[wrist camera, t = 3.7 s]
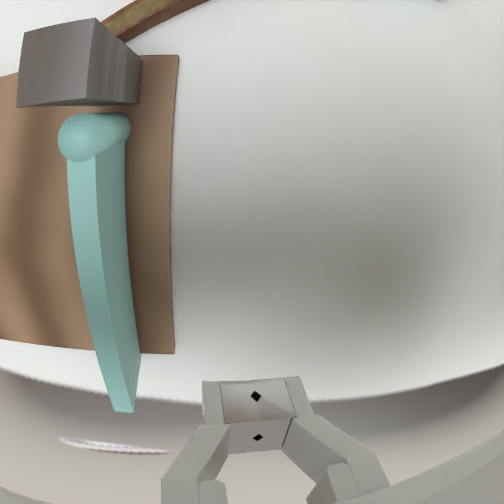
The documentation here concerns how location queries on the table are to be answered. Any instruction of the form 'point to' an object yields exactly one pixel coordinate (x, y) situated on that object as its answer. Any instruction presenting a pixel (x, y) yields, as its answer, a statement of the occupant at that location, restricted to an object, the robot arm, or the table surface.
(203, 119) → the table surface
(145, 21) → the miniature gate
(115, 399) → the gate
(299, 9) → the table surface
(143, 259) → the gate frame
